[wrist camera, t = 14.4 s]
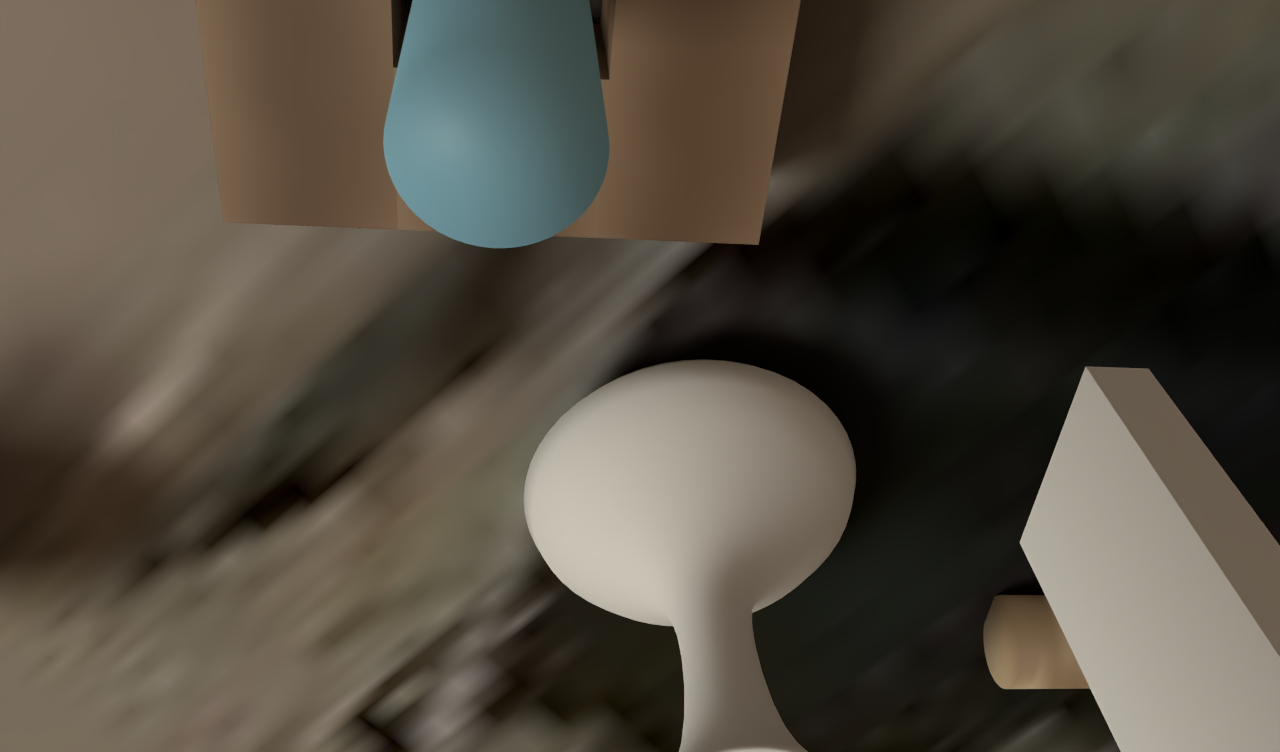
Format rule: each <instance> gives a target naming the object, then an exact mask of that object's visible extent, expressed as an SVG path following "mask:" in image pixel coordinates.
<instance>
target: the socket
mask: <svg viewBox="0 0 1280 752" xmlns="http://www.w3.org/2000/svg"><path fill="white" fill-rule="evenodd" d="M800 1H801V0H602V9H601V22H600V24H597V23H593V29H594V36H595V43H596V50H597V57H598V64H599V71H600V78H601V85H602V92H603V99H604V106H605V113H606V120H607V127H608V135H609V143H610V144H609V161H608V167H607V171H606V175H605V178H604V181H603V184H602V186H601V188H600V190H599V192H598V194H597V196H596V197H595V199H594V200H593V202H592V203H591V205H590V206H589V207H588V208H587V210H586V211H585V212H584V213H583V214H582V215H581V216H580V217H579V218H578V219H577V220H576V221H575V222H573V223H572V224H571V225H570V226H568V227H567V228H565V229H564V230H562V231H561V232H559V233H557V234H555V235H553V236H564V237H588V238H612V239H636V240H660V241H684V242H708V243H732V244H756V245H759V239H760V233H761V227H762V221H763V216H764V210H765V204H766V198H767V192H768V187H769V181H770V175H771V169H772V163H773V158H774V152H775V146H776V140H777V135H778V129H779V123H780V117H781V111H782V106H783V100H784V94H785V88H786V82H787V77H788V71H789V65H790V59H791V53H792V48H793V42H794V36H795V30H796V25H797V19H798V13H799V7H800ZM195 2H196V10H197V18H198V26H199V34H200V41H201V49H202V57H203V65H204V73H205V81H206V89H207V97H208V104H209V112H210V120H211V128H212V136H213V144H214V152H215V160H216V168H217V175H218V183H219V191H220V199H221V207H222V215H223V222H227V223H251V224H275V225H299V226H323V227H347V228H371V229H395V230H419V231H437V230H435V229H434V228H432V227H430V226H429V225H427V224H426V223H425V222H424V221H423V220H421V219H420V218H419V217H418V216H417V215H416V214H415V213H414V212H413V211H412V210H411V209H410V208H409V207H408V206H407V204H406V203H405V202H404V200H403V199H402V198H401V196H400V195H399V193H398V191H397V190H396V188H395V186H394V184H393V182H392V180H391V177H390V175H389V172H388V169H387V165H386V161H385V156H384V146H383V138H384V126H385V121H386V116H387V112H388V107H389V103H390V98H391V94H392V90H393V85H394V81H395V76H396V72H397V67H398V63H399V58H400V54H401V50H402V45H403V41H404V36H405V32H406V27H407V23H408V19H409V14H410V12H409V11H406V0H195Z"/></svg>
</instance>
